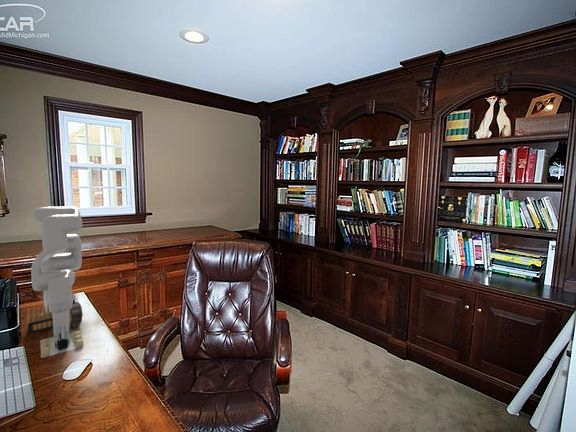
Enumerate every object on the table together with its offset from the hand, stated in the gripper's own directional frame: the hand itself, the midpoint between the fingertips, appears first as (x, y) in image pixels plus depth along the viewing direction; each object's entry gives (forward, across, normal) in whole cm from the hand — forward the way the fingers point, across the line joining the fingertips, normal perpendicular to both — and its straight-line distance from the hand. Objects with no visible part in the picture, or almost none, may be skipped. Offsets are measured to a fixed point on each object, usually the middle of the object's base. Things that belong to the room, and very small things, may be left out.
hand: (62, 348), depth 123 cm
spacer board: (+1, -7, 0) cm, 7 cm away
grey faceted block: (+1, -4, 0) cm, 4 cm away
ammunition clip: (+1, -27, -6) cm, 28 cm away
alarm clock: (+1, -22, +6) cm, 23 cm away
